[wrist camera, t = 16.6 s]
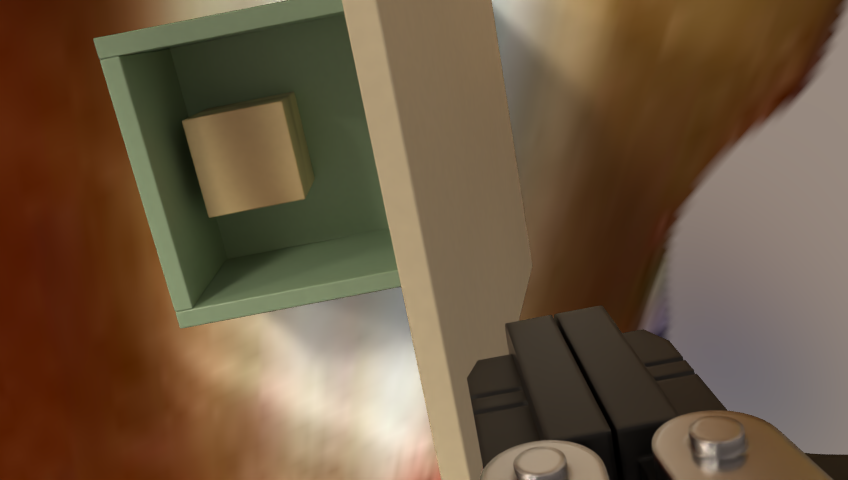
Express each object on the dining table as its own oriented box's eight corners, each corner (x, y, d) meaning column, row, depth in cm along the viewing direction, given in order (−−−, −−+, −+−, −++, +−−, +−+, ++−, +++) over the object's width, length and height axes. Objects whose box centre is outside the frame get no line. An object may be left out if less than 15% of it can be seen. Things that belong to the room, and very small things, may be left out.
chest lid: (445, 501, 20) (474, 500, 20) (330, -48, 16) (366, -56, 16) (516, 267, 37) (532, 266, 36) (466, -36, 33) (485, -40, 32)
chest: (219, 271, 46) (179, 329, 37) (153, 34, 42) (92, 38, 33) (498, 217, 45) (522, 264, 37) (458, -26, 42) (475, -37, 33)
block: (228, 196, 44) (208, 218, 39) (205, 108, 42) (180, 120, 37) (315, 179, 43) (305, 199, 39) (294, 91, 42) (281, 100, 37)
